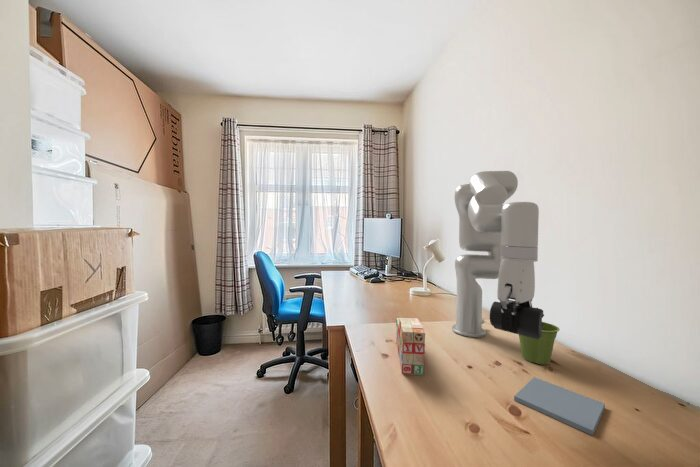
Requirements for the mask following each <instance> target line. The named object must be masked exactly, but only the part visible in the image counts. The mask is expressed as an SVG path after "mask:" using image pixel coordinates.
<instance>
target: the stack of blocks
mask: <svg viewBox="0 0 700 467" xmlns="http://www.w3.org/2000/svg"><path fill="white" fill-rule="evenodd" d="M395 324H396V325H395V328H396V334H395V335H396V349H397V355H398V359H399V365H400V372H401V374H402V375H412V376H425V353H426V352H425V351H426V349H425V348H426V346H425V345H426V341H425V340H426V332H425V330H424V327H423V325H422V323H421V322H420V320H419V318H417V317H415V318H414V317H396V323H395Z"/></svg>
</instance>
